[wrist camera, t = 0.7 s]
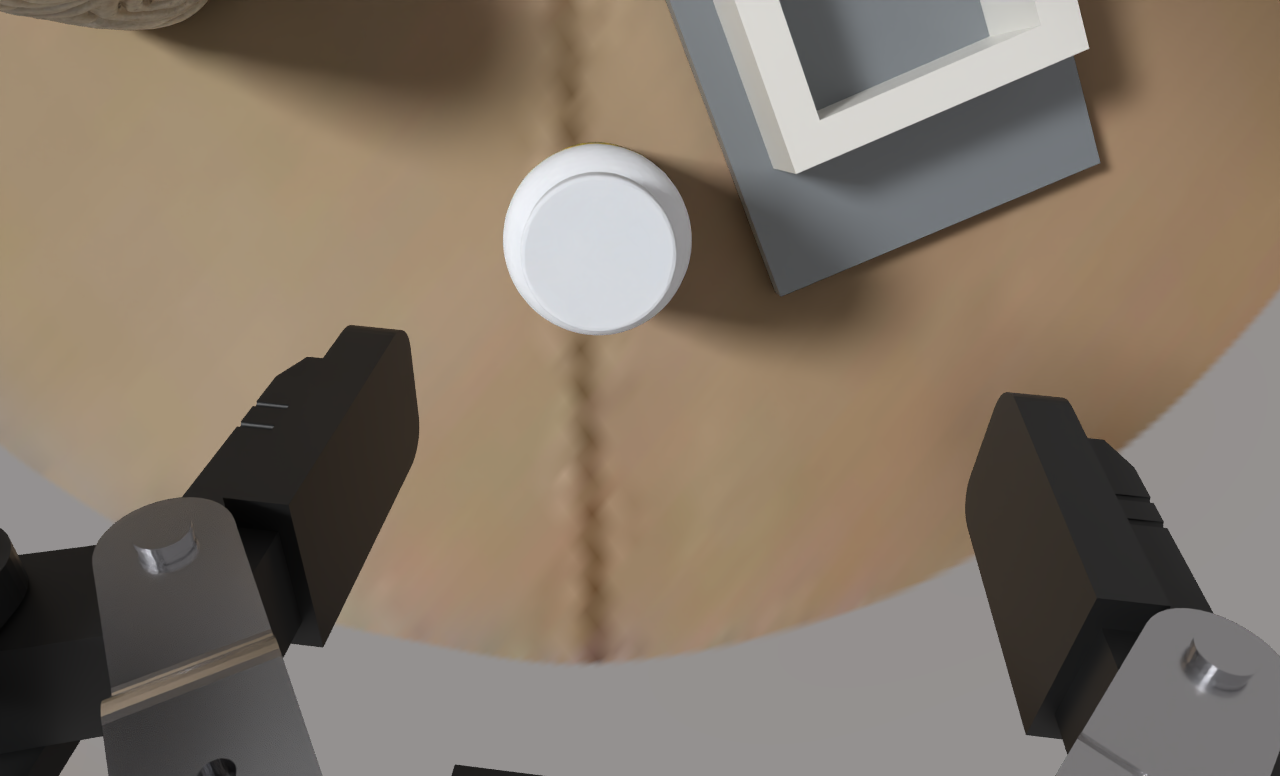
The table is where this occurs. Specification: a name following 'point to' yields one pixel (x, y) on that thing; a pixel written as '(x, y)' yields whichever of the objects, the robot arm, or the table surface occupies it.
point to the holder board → (884, 116)
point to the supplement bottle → (597, 239)
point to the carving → (106, 12)
